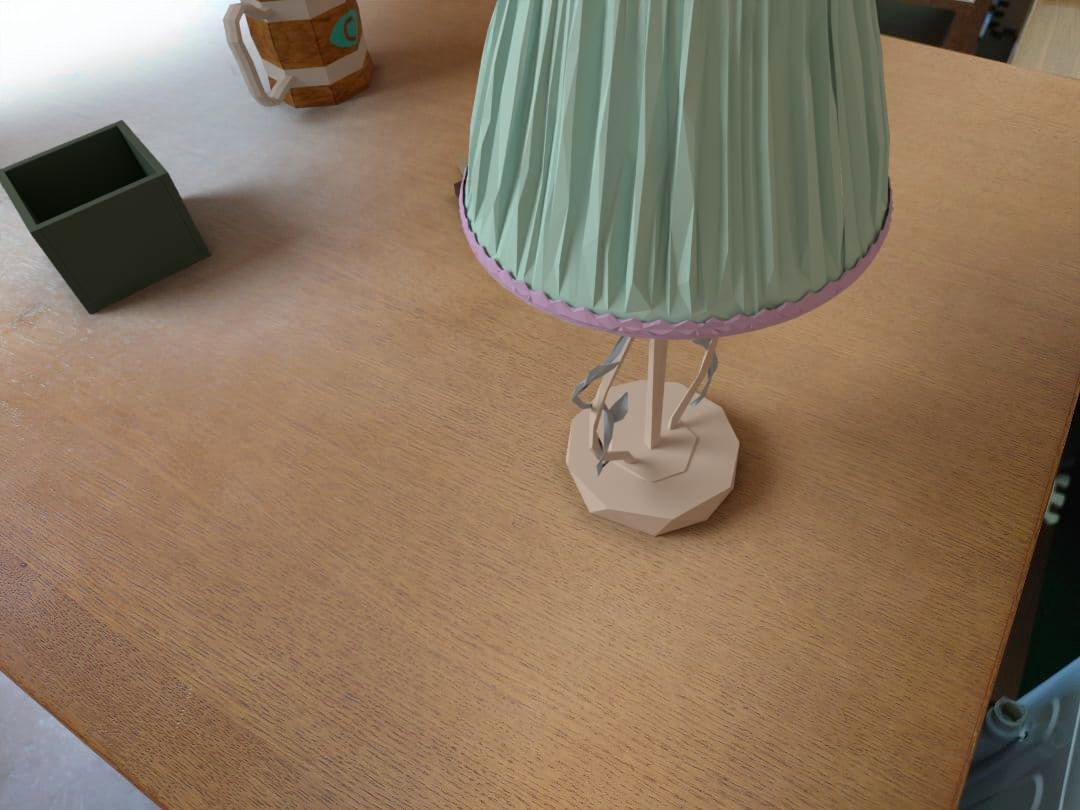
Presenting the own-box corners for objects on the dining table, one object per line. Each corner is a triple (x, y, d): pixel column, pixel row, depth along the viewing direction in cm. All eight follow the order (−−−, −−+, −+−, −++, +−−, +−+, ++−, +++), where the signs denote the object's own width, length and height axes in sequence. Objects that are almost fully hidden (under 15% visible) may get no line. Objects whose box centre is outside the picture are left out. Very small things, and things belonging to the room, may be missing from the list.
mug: (307, 49, 105) (269, -73, 94) (394, 60, 102) (365, -66, 90) (221, 127, 94) (165, -1, 83) (315, 143, 90) (271, 11, 79)
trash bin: (89, 314, 74) (29, 232, 67) (51, 252, 81) (-7, 171, 73) (211, 255, 79) (168, 172, 71) (165, 200, 85) (122, 119, 78)
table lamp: (642, 318, 69) (665, -270, 38) (857, 459, 58) (1140, -205, 27) (452, 462, 60) (281, -141, 29) (662, 658, 49) (743, 30, 18)
